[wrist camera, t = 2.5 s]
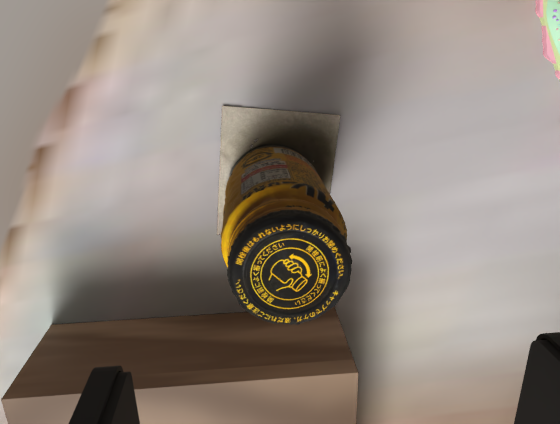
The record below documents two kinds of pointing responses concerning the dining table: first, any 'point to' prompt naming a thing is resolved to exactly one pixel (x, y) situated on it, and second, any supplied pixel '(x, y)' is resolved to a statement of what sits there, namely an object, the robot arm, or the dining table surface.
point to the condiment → (281, 213)
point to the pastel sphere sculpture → (550, 30)
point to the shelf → (196, 370)
